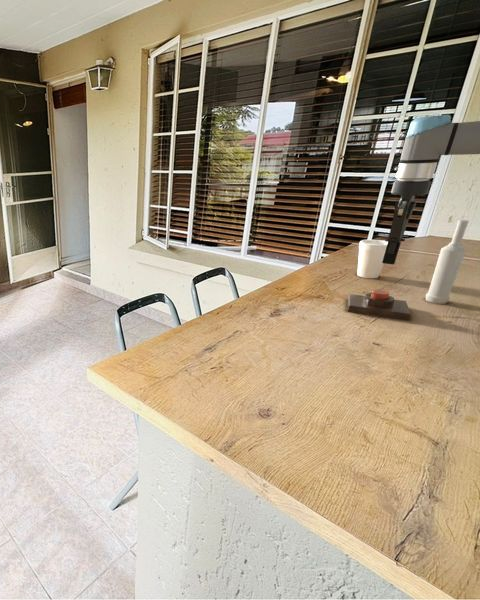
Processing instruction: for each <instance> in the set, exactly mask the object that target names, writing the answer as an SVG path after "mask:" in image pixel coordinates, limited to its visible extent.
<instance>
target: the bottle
mask: <svg viewBox="0 0 480 600" xmlns="http://www.w3.org/2000/svg"><path fill="white" fill-rule="evenodd" d="M469 223H470V220H468V219H458V221H457V224H456V228H455V231H454V233H453V237H452V239H451V242H449V243H448V244H447V245H445V246H443V247H441V249H440V251H439V254H438V258H437V262H436V265H435V268H434V272H433V276H432V279H431V282H430V284H429V288H428V292H427V293H426V294H425V301H426V302H429V303H433V304H439V305H442V304H443V305H444V304H447V303H448V302H449V300H450V293H451V291H452V288H453V286H454V284H455V281H456V278H457V276H458V274H459V271H460V268H461V266H462V263H463V260H464V258H465V256H466V253H467V249H466V248H465V247H463V243H462V241H463V238H464V236H465V232H466V230H467V227H468V224H469Z"/></svg>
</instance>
